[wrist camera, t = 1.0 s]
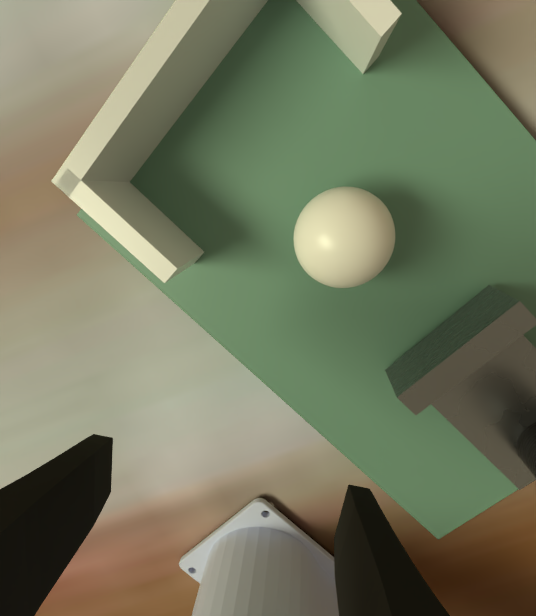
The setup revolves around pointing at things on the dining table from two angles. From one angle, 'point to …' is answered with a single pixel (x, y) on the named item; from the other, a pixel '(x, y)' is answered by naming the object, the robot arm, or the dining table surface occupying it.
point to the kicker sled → (479, 380)
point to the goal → (170, 105)
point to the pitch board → (396, 197)
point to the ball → (344, 237)
